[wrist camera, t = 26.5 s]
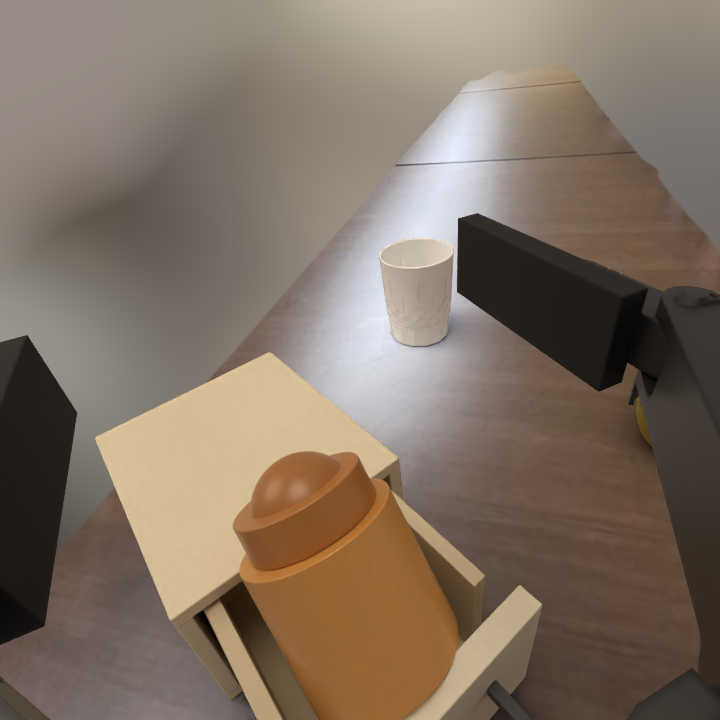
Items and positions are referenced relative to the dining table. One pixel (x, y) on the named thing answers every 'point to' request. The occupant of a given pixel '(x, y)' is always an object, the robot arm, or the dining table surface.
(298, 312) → the dining table surface
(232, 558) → the cabinet
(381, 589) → the orange dome-capped jar
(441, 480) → the dining table surface
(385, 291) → the white cup
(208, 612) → the drawer
